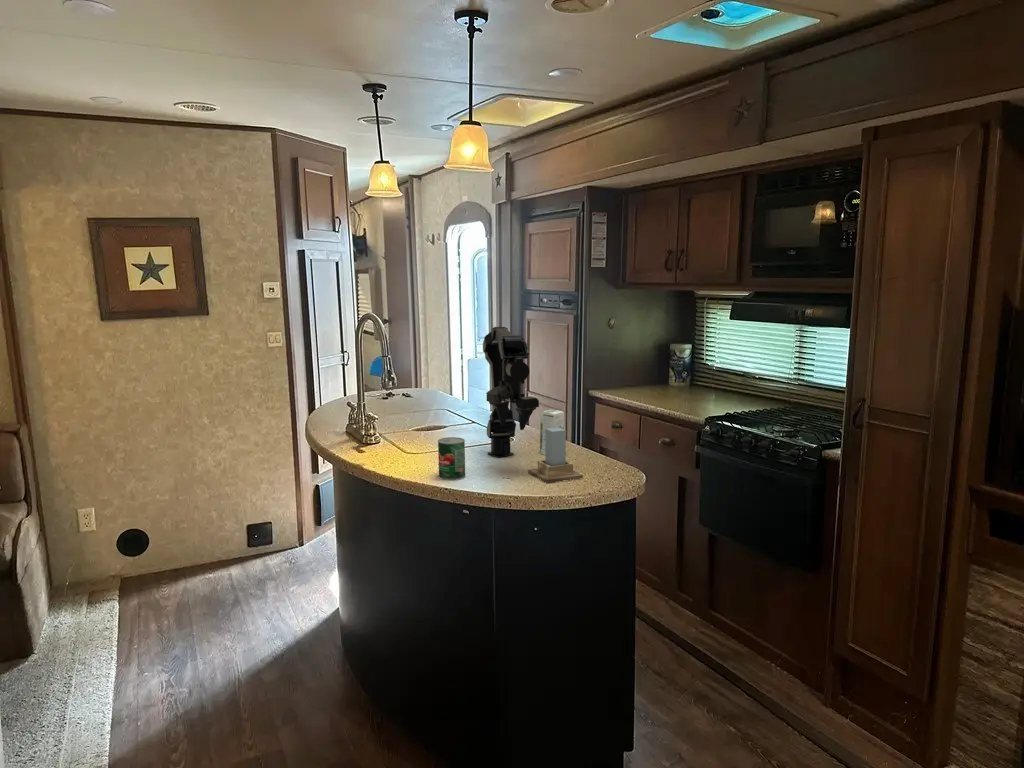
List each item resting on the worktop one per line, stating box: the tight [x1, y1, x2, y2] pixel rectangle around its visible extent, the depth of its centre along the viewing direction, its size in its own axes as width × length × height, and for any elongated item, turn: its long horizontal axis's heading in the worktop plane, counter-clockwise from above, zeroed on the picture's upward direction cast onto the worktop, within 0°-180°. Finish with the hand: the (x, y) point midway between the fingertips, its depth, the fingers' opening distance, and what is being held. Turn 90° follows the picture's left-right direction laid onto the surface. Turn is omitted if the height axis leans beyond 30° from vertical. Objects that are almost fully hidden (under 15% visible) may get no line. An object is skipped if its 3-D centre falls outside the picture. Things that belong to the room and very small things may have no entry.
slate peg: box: [544, 427, 567, 466], centre depth 202 cm, size 4×4×13 cm
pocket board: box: [527, 459, 584, 484], centre depth 203 cm, size 12×12×4 cm
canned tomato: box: [437, 436, 466, 481], centre depth 202 cm, size 8×8×11 cm
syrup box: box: [539, 409, 565, 455], centre depth 228 cm, size 6×6×14 cm
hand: (512, 427), depth 209 cm, fingers open, 9 cm apart
